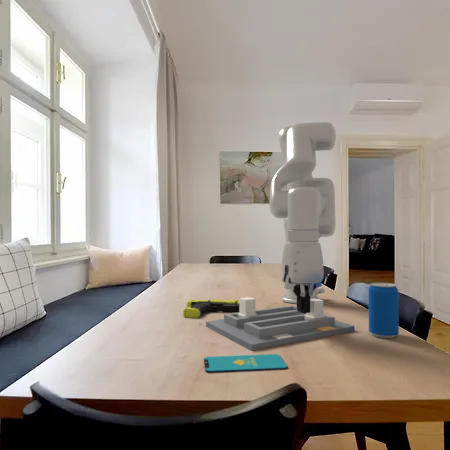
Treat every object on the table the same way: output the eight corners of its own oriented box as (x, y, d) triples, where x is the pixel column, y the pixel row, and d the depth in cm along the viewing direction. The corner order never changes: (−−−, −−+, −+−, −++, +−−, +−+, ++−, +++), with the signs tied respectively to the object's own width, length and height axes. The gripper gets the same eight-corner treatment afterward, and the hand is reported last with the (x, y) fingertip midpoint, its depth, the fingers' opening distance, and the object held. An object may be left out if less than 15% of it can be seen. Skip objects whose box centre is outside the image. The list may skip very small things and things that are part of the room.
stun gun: (247, 310, 105) (247, 299, 120) (179, 309, 106) (188, 298, 121) (247, 320, 105) (247, 308, 120) (179, 319, 106) (188, 307, 121)
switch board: (297, 312, 111) (296, 302, 111) (354, 330, 92) (354, 317, 92) (205, 326, 97) (205, 313, 97) (251, 350, 78) (251, 335, 78)
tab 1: (250, 318, 98) (250, 296, 98) (257, 321, 96) (257, 298, 96) (237, 320, 96) (237, 298, 97) (244, 323, 94) (243, 300, 94)
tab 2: (316, 320, 96) (316, 298, 96) (325, 323, 93) (325, 300, 93) (304, 322, 94) (304, 299, 94) (313, 325, 91) (312, 301, 91)
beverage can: (398, 333, 90) (398, 283, 90) (398, 340, 84) (398, 287, 84) (369, 330, 92) (369, 281, 92) (367, 337, 87) (367, 285, 87)
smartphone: (288, 366, 67) (205, 370, 66) (288, 371, 67) (205, 375, 66) (278, 353, 75) (203, 356, 73) (278, 357, 75) (203, 360, 73)
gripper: (316, 237, 99) (316, 306, 99) (269, 237, 92) (269, 312, 92) (336, 237, 92) (337, 311, 92) (287, 238, 86) (288, 318, 85)
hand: (303, 311), depth 92 cm, fingers closed
